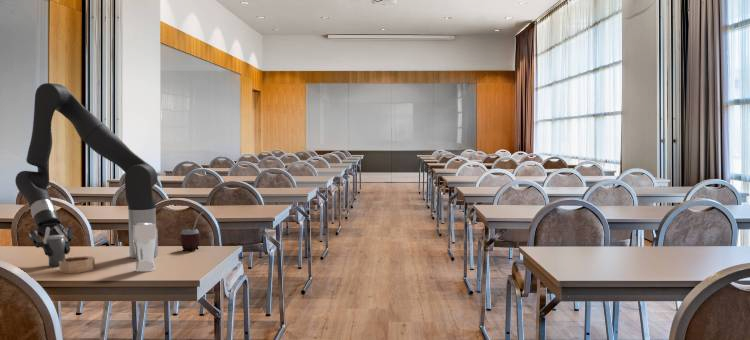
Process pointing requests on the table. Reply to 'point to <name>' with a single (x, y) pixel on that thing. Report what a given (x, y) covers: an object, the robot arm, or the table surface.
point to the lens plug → (56, 249)
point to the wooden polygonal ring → (76, 264)
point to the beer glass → (144, 246)
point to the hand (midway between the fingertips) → (58, 253)
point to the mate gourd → (190, 238)
